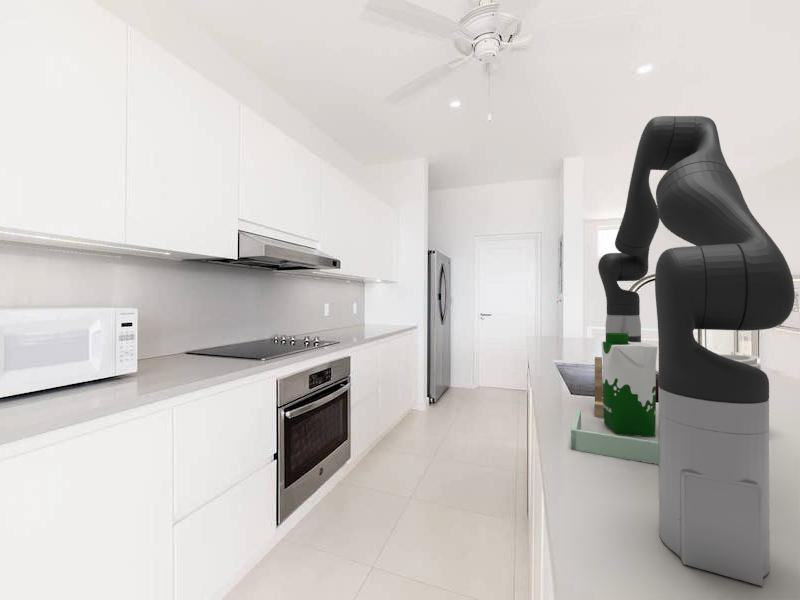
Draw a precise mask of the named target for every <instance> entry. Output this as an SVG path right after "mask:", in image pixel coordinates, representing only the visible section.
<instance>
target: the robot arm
mask: <svg viewBox="0 0 800 600" xmlns="http://www.w3.org/2000/svg"><path fill="white" fill-rule="evenodd" d="M721 147H722V146H721V143H720V137H719V132H718V128H717V124H716V123H715V121H714V120H713V119H712V118H710V117H707V116H702V115H674V116H673V115H663V116H654V117H653V118H651V119H650V120H649V121H648V122H647V123H646V125H645V127H644V129H643V131H642V133H641V135H640V139H639V141H638V146H637V149H636V154H635V159H634V163H633V168H632V172H631V177H630V181H629V187H628V192H627V197H626V198H627V199H626V204H625V209H624V214H623V217H622V220H621V222H620V225H619V228H618V232H617V234H616V237H615V240H614V246H615V248H616V250H617V251H618V252H609V253H605V254H604V255H602V256H601V257H600V259H599V261H598V266H597V270H598V273H599V276H600V280H601V283H602V286H603V288H604V293H605V299H606V300H605V301H606V318H605V334H606V333H626V334H628V342H642V324H641V323H642V322H641V316H640V313H641V310H640V309H641V308H640V305H641V302H640V294H639V293H638V292H637V291H631V290H628V289H623V288H621V286H620V285H619V284H618V282H637V281H639V280H640V281H641V280H643V278H645V276H646V275H648V272H649V271H648V270H649V254H650V247H651V244H652V242H653V239H654V237H655V235H656V233H657V230H658V227H659V224H660V222H661V223H662V225H663V226H664V227H665V228H666V229H667V230H668V231H669V232H670V233H672V234H673V235H675V236H677V237H678V238H679V239H682V240H684V241H686V242H687V243H689V244H692V245H693V246H692V245H691V246H680V247H679V246H678V247H677V246H676V247H672V248H668V249H666V250H664V251H663V252H662V253H661V254H660V256H659V258H658V260H657V262H656V266H655V274H654V275H655V277H654V291H655V294H654V295H655V305H656V307H655V308H656V318H657V319H656V320H657V333H658V334H657V335H658V376H657V377H658V380H657V381H658V383H657V384H658V385H657V386H658V388H657V389H658V416H657V417H658V426H657V427H658V435H657V436H658V439H657V440H658V441H657V442H658V450H659V465H658V533H659V537H660V539H661V541H662V542H663V543H664V545H666V547H667V548H669V550H671V551H672V552H674V553H675V554H676V555H677V556H678V557H679V558H680V560H681V563H682V564H683V565H687V566H689V567H693V568H696V569H700V570H703V571H707V572H710V573H715V574H718V575H721V576H724V577H728V578H732V579H735V580H740V581H743V582H746V583H750V584H753V585H757V586H760V587H761V586H763V585H764V577H765V576H767V575H768V574H769V572H770V571H771V570H770V569H771V568H770V567H771V566H770V564H771V563H770V562H771V561H770V558H771V557H770V554H771V553H770V551H771V550H770V545H771V543H770V540H771V539H770V538H771V537H770V380H769V376H768V375H767V373H766V372H765V371H763V370H762V369H758V368H756V367H753V366H751V365H748V364H745V363H741V362H738V361H735V360H732V359H729V358H726V357H723V356H720V355H721V354H718V353H716V352H714V351H712V350H710V349H708V348H706V347H704V345H702V344H701V343H699V342H698V341H697V340H696V338H695V335H694V331H695V330H710V331H713V330H716V331H746V332H748V331H749V332H750V331H763V330H770V329H774V328H776V327H778V326H780V325H782V324H783V323H784V322H786V320H788V318H789V317H790V316H791V314H792V312H793V309H794V305H795V300H796V299H795V298H796V296H795V284H794V279H793V276H792V273H791V269H790V267H789V265H788V264H789V263H788V261H787V260H786V257H785V256H784V254H783V253H782V251H781V250H780V248H779V247H778V245H777V244H776V242H775V241H774V240H773V238H772V237H771V236H770V235H769V233H768V232H767V231H766V229H765V228H764V227H763V226H761V224H760V223H759V221H758V220H757V219H756V217H755V215H753V214H752V211H751V210H750V208H749V206H748V205H747V203H746V200H745V198H744V195H743V193H742V191H741V188H740V185H739V183H738V180H737V179H736V177H735V175H734V173H733V172H732V169H730V167H729V165H728V163H727V161H726V158H725V156H724V153H723V151H722V148H721ZM651 171H665V173H664V174H663V175H662V177H661V178H660V179H659V182H658V184H657V186H656V190H655V198H654V195H653V193H652V191H651V187H650V176H651V175H650V174H651Z"/></svg>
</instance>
